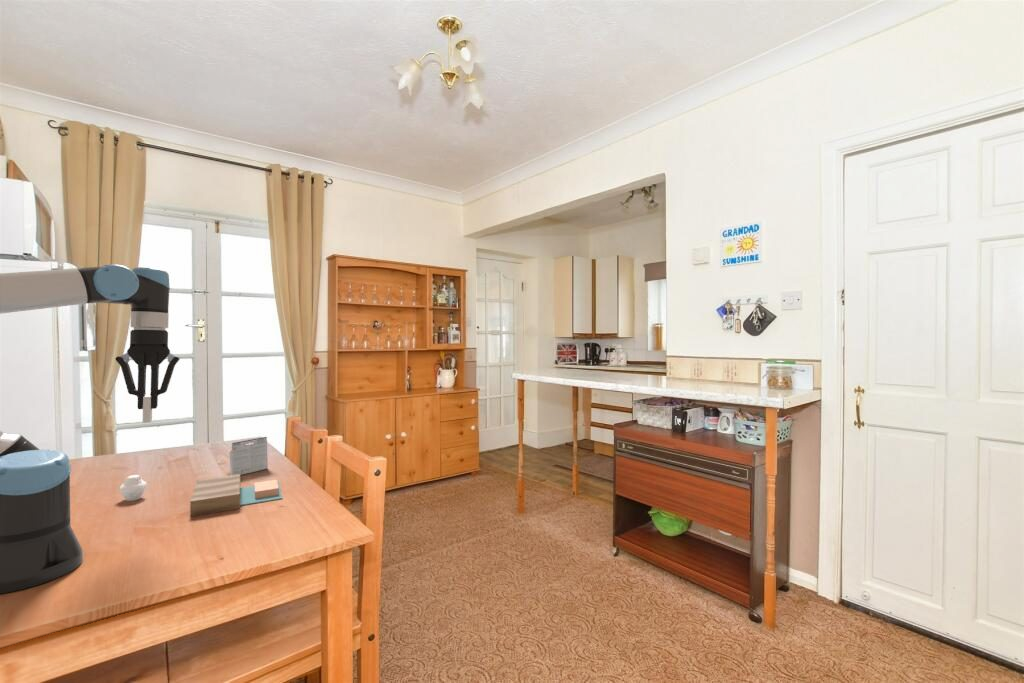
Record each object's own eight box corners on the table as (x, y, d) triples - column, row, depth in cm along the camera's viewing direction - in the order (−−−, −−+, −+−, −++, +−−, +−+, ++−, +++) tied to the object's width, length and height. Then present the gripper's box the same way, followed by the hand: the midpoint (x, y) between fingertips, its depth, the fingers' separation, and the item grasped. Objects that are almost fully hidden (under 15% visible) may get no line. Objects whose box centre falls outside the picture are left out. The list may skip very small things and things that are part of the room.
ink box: (265, 468, 161) (265, 435, 161) (268, 469, 159) (267, 436, 159) (229, 475, 152) (228, 441, 152) (231, 477, 150) (231, 442, 150)
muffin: (123, 497, 132) (122, 473, 132) (149, 493, 135) (149, 470, 134) (116, 504, 126) (116, 479, 126) (144, 500, 129) (143, 476, 129)
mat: (282, 498, 130) (282, 497, 130) (237, 506, 125) (237, 505, 125) (278, 483, 144) (278, 482, 144) (238, 489, 138) (238, 488, 138)
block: (254, 491, 130) (255, 498, 130) (278, 488, 133) (278, 494, 133) (254, 482, 137) (254, 489, 138) (276, 479, 141) (276, 485, 141)
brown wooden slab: (239, 508, 123) (239, 493, 123) (190, 516, 118) (190, 501, 118) (240, 487, 140) (240, 474, 140) (197, 493, 135) (197, 480, 135)
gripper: (182, 330, 122) (180, 417, 122) (119, 328, 115) (117, 421, 115) (179, 329, 115) (177, 422, 115) (112, 328, 109) (109, 426, 108)
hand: (147, 421), depth 115 cm, fingers closed
